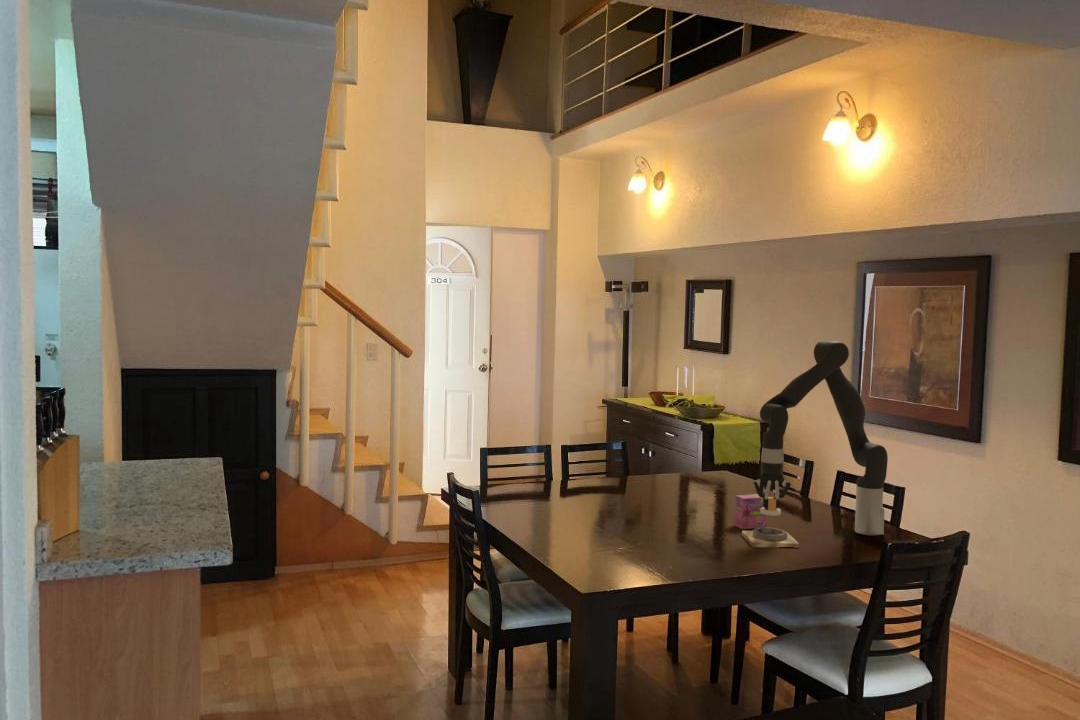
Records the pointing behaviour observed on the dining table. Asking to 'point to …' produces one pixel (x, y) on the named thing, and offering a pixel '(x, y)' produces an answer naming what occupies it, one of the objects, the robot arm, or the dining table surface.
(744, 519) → the box
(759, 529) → the grey octagonal ring
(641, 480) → the dining table surface
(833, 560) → the dining table surface
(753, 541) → the board
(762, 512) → the white disc orange handle
